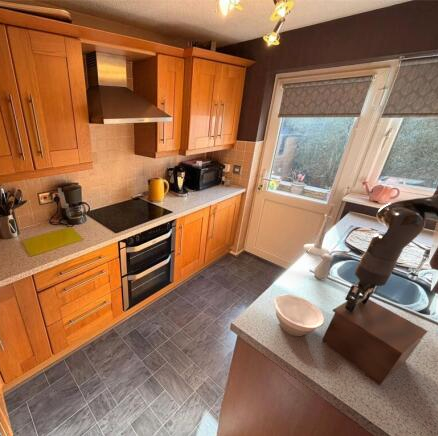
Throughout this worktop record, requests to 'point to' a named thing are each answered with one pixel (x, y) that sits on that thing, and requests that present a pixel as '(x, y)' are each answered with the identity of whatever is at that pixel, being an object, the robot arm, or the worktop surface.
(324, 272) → the salt shaker
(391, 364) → the chest
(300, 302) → the bowl
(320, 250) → the candlestick
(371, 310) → the lid
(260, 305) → the worktop surface
